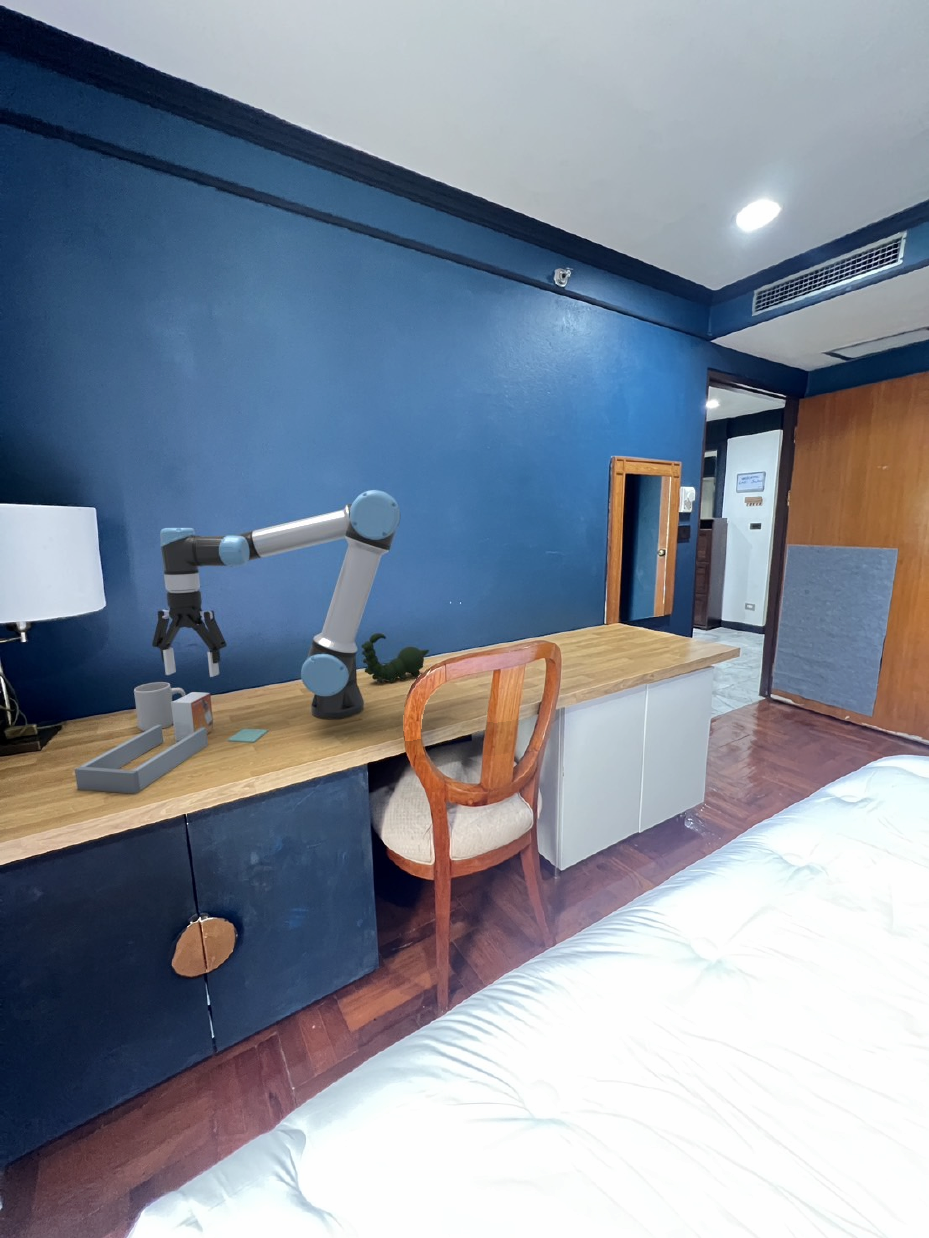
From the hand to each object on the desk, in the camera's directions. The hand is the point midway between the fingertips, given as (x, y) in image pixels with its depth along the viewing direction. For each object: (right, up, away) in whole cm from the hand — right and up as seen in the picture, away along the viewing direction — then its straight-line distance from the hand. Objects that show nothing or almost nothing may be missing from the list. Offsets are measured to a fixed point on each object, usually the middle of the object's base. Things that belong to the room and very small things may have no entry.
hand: (192, 674), depth 128 cm
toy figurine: (+46, -7, +48) cm, 68 cm away
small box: (0, -16, +2) cm, 17 cm away
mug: (-13, -15, +10) cm, 22 cm away
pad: (+14, -16, +1) cm, 21 cm away
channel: (-2, -19, -14) cm, 23 cm away
